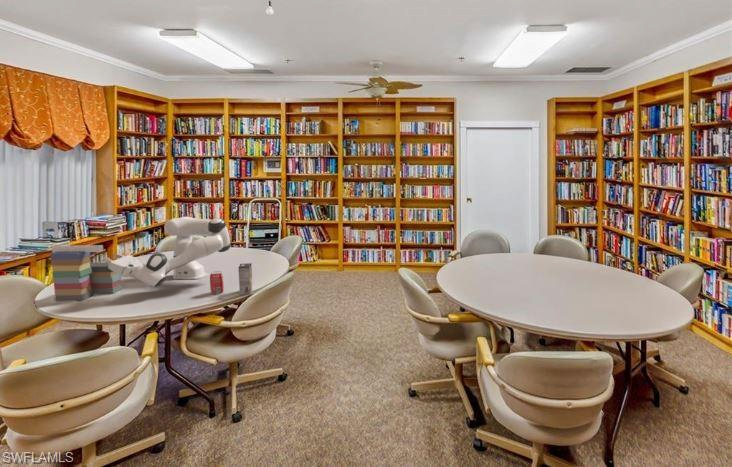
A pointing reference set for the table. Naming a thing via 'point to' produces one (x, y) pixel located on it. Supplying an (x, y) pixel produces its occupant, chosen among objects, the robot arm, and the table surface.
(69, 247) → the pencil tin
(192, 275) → the robot arm
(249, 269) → the coffee box
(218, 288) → the soda can
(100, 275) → the short book stack
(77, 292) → the tall book stack
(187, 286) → the table surface
